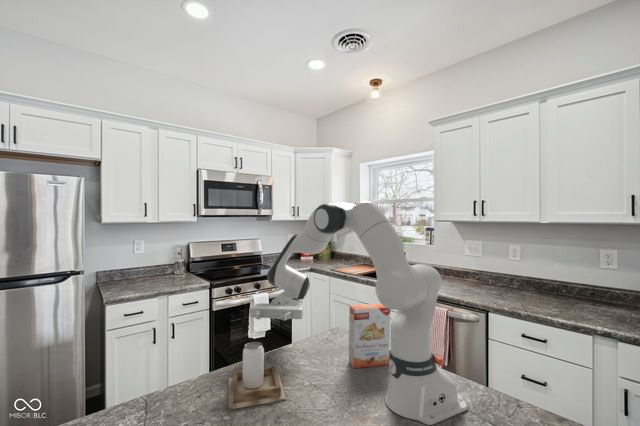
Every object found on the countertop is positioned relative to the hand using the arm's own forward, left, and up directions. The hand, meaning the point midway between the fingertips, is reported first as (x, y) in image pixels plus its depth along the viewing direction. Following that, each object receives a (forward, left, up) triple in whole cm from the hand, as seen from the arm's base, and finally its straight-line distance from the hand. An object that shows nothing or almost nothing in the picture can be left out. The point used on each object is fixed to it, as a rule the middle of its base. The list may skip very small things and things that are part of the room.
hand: (270, 317), depth 105 cm
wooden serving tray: (+6, +12, -18) cm, 22 cm away
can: (+6, +9, -17) cm, 21 cm away
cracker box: (-35, +6, -18) cm, 40 cm away
